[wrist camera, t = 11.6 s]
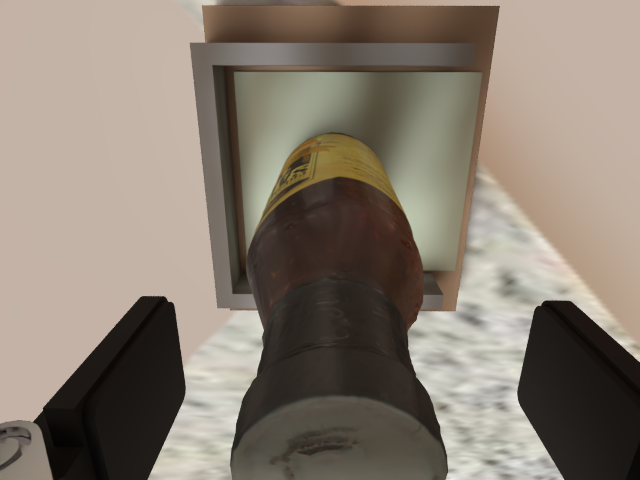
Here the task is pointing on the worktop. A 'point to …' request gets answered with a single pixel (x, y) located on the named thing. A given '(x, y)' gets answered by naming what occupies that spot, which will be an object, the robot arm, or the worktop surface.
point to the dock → (343, 117)
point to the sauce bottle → (336, 328)
